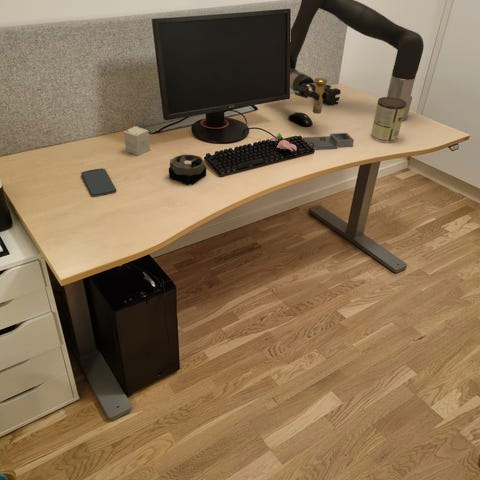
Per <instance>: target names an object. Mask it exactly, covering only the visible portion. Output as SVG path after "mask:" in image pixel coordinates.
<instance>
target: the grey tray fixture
mask: <svg viewBox="0 0 480 480" xmlns="http://www.w3.org/2000/svg"><path fill="white" fill-rule="evenodd" d="M302 138H303V139H304V140H305V141H306V142H307V143H308V144H310V145H311V146H312V147H313V149H314V150H313V151H320V150H335V149H338V148H345V147H347V148H348V147H353V146H354V143H355V142H354V141H355V140H354V138H353V137H352V136H351V135H349V134H348V132H338V133H335V132H334V133H330V134H329V135H327V136H326V135H325V136H324V135H323V136H307V137H306V136H305V137H302Z"/></svg>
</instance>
